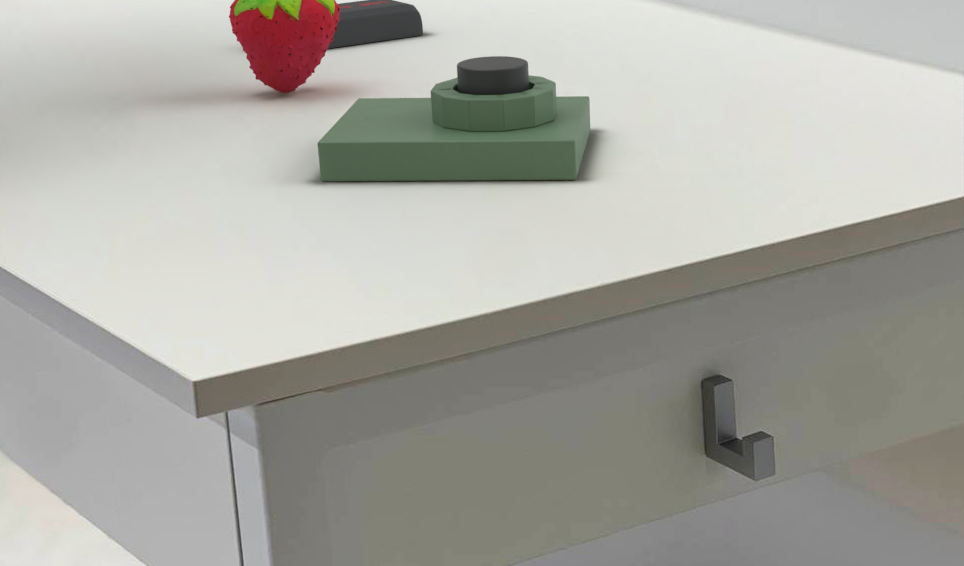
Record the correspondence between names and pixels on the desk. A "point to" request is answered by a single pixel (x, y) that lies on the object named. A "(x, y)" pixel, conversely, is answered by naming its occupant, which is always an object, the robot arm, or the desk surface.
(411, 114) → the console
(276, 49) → the strawberry
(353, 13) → the usb drive
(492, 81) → the button
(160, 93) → the desk surface
